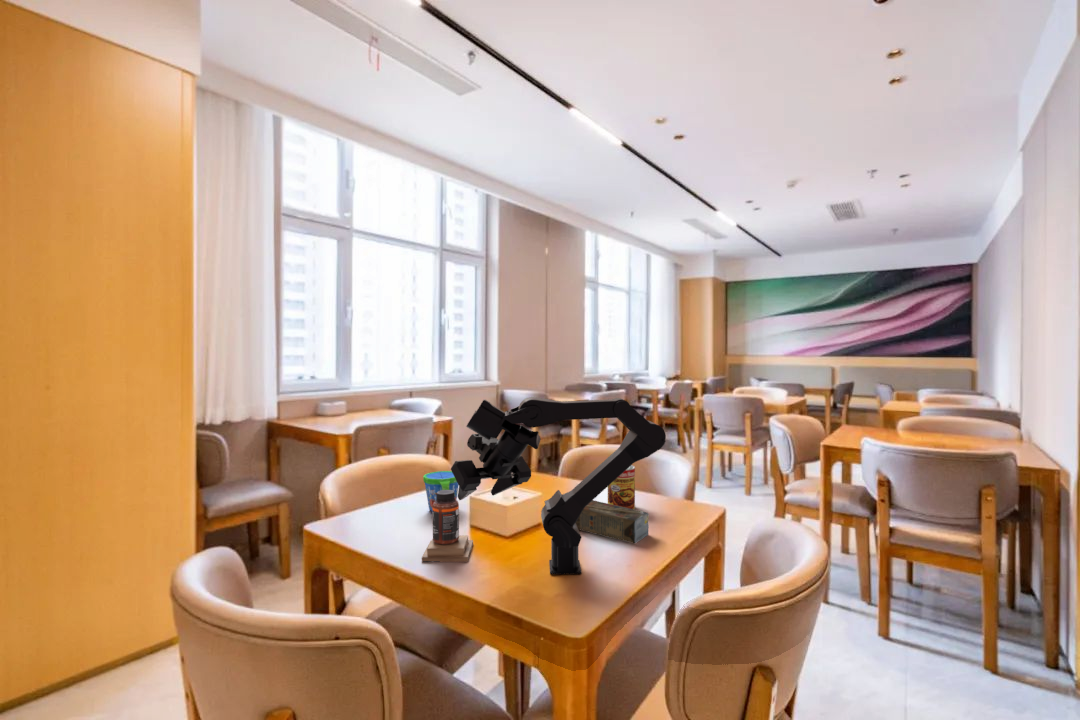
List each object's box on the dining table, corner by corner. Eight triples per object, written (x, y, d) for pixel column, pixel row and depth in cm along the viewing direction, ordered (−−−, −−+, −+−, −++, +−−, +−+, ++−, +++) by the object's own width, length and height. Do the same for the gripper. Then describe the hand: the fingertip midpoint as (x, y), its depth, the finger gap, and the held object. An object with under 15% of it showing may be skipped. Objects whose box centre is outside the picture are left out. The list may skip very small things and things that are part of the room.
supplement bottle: (464, 540, 119) (464, 491, 119) (444, 548, 115) (444, 496, 114) (447, 534, 123) (447, 486, 123) (427, 541, 118) (426, 492, 118)
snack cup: (423, 503, 157) (423, 469, 157) (458, 500, 159) (458, 467, 159) (423, 519, 142) (423, 482, 141) (462, 516, 144) (462, 480, 144)
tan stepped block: (467, 561, 113) (467, 550, 113) (421, 561, 113) (421, 550, 113) (473, 544, 123) (473, 533, 123) (430, 544, 123) (430, 534, 123)
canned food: (613, 512, 147) (613, 470, 147) (603, 504, 155) (603, 464, 155) (639, 510, 149) (639, 468, 149) (628, 502, 157) (628, 463, 156)
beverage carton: (635, 545, 123) (635, 517, 123) (567, 529, 135) (567, 503, 135) (649, 535, 130) (649, 509, 129) (584, 520, 141) (584, 496, 141)
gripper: (523, 420, 121) (492, 465, 128) (456, 422, 108) (426, 471, 115) (547, 457, 114) (513, 502, 121) (479, 463, 101) (446, 513, 108)
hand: (476, 496), depth 117 cm, fingers open, 9 cm apart
